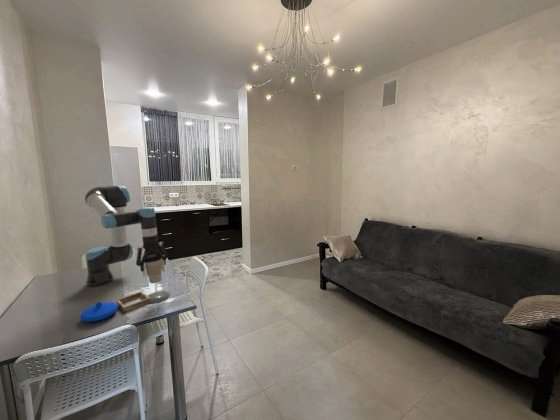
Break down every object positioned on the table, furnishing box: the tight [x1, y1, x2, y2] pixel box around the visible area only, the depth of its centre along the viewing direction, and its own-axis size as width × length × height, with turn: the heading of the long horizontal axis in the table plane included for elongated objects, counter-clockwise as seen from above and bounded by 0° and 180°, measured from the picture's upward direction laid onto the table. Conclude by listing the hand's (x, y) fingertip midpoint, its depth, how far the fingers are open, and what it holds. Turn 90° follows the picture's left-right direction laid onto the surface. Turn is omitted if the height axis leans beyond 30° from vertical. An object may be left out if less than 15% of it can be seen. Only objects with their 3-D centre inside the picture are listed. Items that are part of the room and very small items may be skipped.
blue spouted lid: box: [79, 301, 119, 323], centre depth 126 cm, size 16×16×7 cm
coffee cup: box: [144, 253, 162, 284], centre depth 141 cm, size 9×9×15 cm
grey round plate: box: [143, 290, 170, 304], centre depth 144 cm, size 13×13×1 cm
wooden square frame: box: [115, 290, 151, 313], centre depth 138 cm, size 13×13×2 cm
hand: (154, 273), depth 141 cm, fingers closed on coffee cup, 9 cm apart
